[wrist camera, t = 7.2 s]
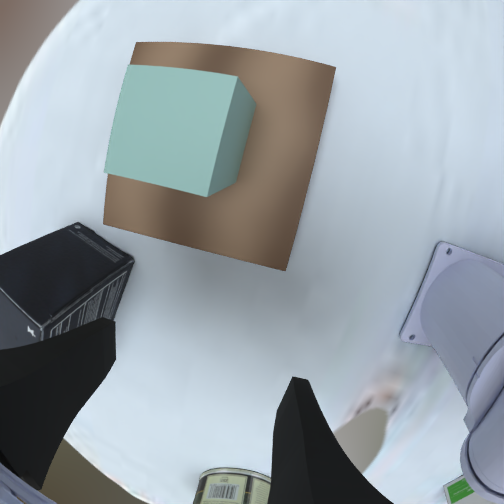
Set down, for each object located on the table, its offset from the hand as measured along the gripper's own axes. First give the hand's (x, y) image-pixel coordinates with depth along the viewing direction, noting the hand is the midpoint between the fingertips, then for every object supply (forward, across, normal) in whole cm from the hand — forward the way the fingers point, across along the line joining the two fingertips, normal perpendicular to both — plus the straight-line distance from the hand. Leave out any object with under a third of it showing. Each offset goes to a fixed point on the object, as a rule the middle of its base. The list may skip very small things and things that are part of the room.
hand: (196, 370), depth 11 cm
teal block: (+8, +3, -8) cm, 12 cm away
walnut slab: (+10, +3, -8) cm, 13 cm away
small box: (+11, +12, +5) cm, 17 cm away
